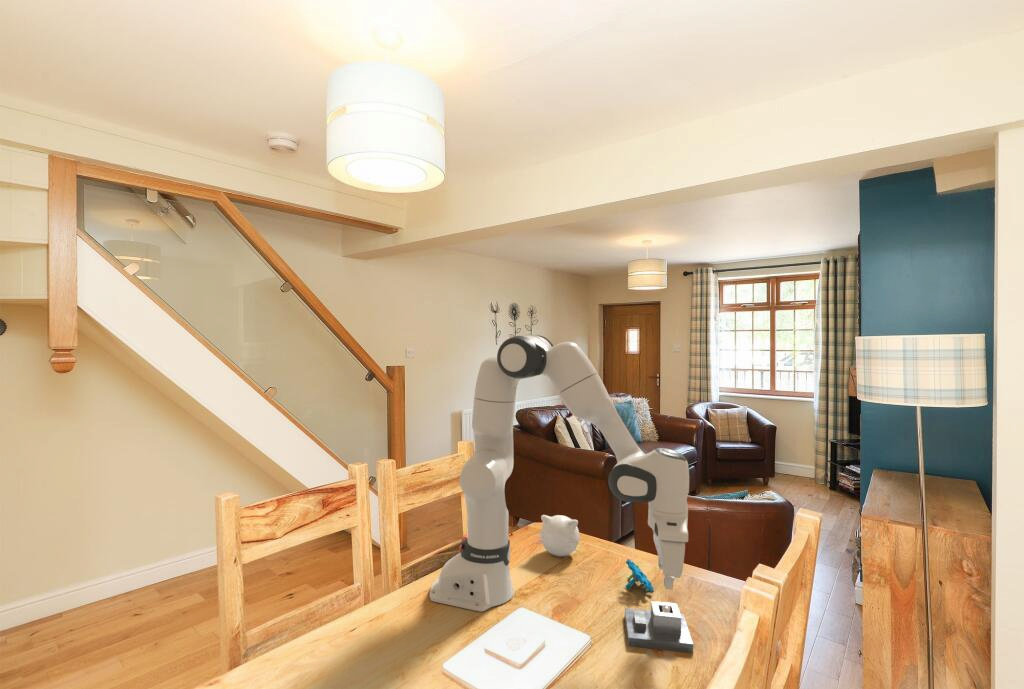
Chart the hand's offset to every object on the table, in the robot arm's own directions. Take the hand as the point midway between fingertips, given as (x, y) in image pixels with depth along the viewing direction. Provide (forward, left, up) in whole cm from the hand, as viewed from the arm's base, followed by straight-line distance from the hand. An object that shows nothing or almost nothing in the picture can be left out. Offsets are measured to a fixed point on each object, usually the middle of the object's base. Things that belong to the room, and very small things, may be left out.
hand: (665, 577), depth 118 cm
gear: (-4, +21, -14) cm, 26 cm away
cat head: (-27, +38, -14) cm, 48 cm away
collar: (0, 0, -12) cm, 12 cm away
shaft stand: (-2, 0, -14) cm, 14 cm away
